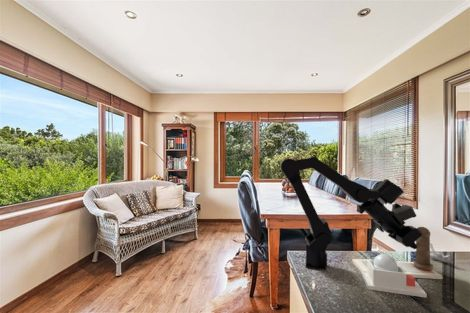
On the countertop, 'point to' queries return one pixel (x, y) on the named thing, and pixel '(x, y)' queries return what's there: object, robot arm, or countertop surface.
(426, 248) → the pawn
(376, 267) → the dome
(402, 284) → the base
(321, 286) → the countertop surface
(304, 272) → the countertop surface
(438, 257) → the soldier figure
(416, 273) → the game track
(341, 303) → the countertop surface
